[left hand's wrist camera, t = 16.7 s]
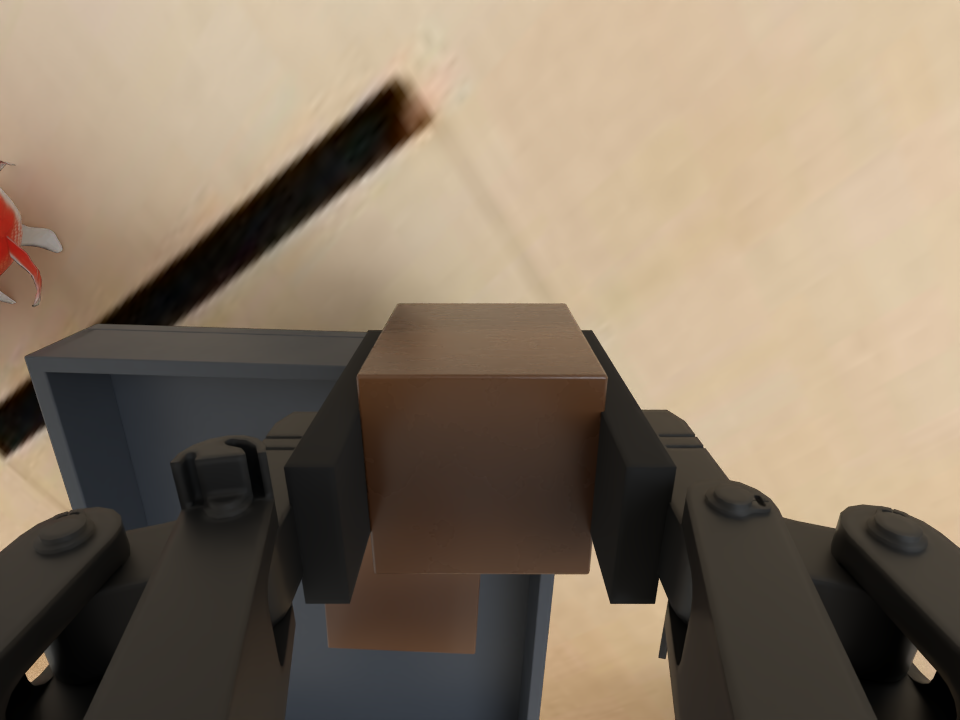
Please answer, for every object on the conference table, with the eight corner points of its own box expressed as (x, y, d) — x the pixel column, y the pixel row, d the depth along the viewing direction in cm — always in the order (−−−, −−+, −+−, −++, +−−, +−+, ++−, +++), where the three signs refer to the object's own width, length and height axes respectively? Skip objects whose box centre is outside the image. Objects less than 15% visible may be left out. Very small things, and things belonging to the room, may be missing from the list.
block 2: (396, 303, 14) (355, 375, 9) (566, 303, 14) (608, 375, 9) (405, 450, 16) (373, 575, 11) (557, 450, 16) (589, 575, 11)
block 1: (358, 436, 19) (318, 529, 14) (483, 442, 19) (482, 537, 14) (362, 536, 21) (327, 648, 16) (477, 541, 21) (475, 655, 16)
